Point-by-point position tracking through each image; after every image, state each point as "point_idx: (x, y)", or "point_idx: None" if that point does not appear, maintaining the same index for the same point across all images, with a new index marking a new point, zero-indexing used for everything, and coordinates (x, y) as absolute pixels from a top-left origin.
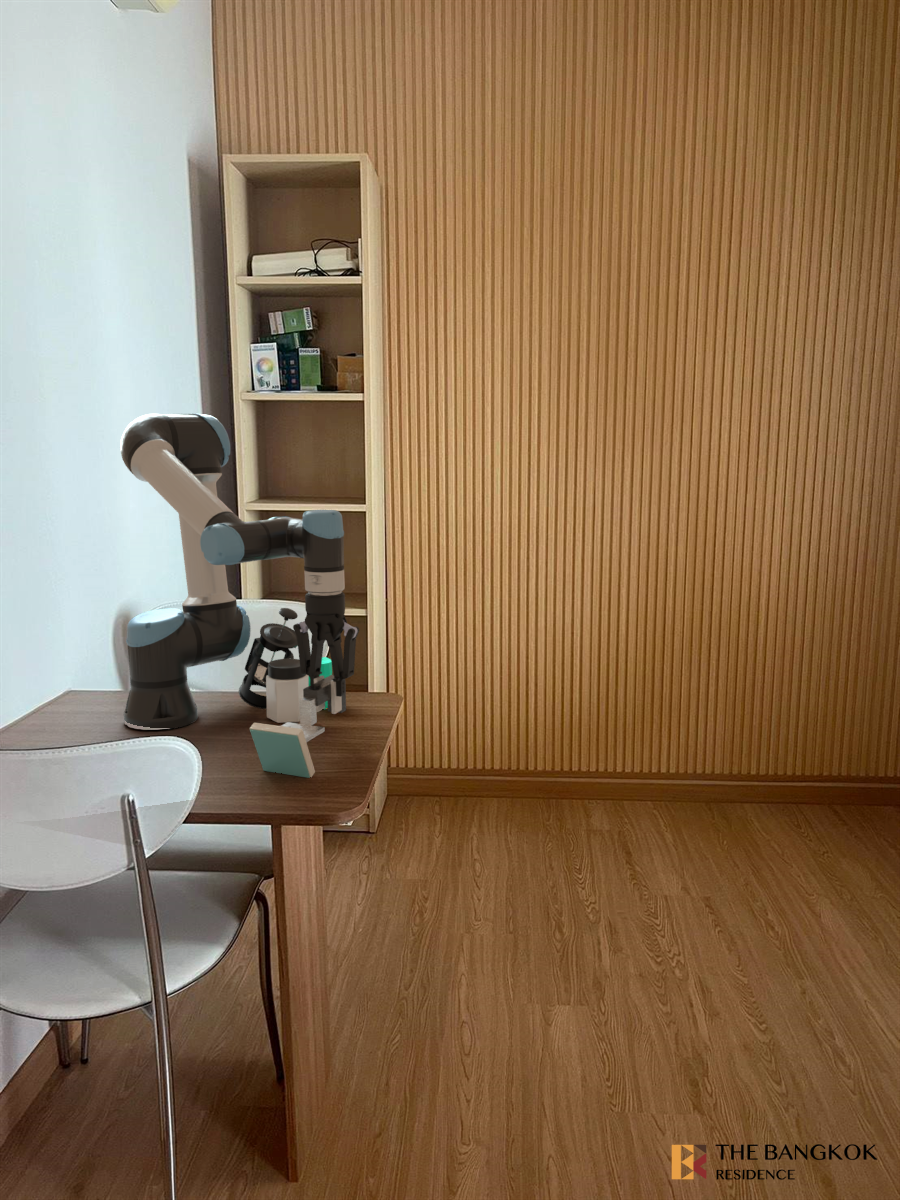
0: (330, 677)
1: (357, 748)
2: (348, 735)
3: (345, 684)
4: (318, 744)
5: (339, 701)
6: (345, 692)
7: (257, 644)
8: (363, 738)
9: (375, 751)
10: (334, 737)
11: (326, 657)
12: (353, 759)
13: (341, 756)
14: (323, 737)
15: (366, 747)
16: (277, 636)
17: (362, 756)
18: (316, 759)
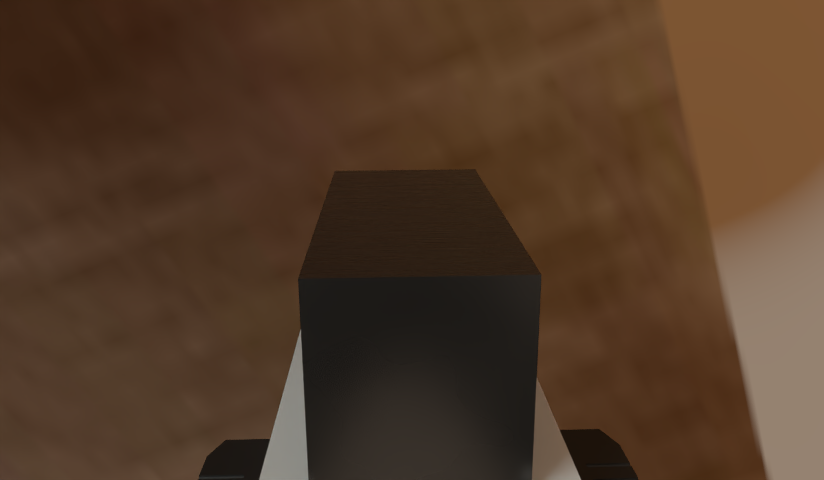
0: (364, 417)
1: (573, 220)
2: (398, 7)
3: (518, 239)
4: (306, 247)
5: None
6: (499, 213)
7: None
8: (526, 27)
9: (700, 227)
10: (329, 85)
11: None
12: (628, 388)
13: (542, 372)
14: (259, 113)
15: (619, 183)
16: None
17: (658, 329)
18: None
